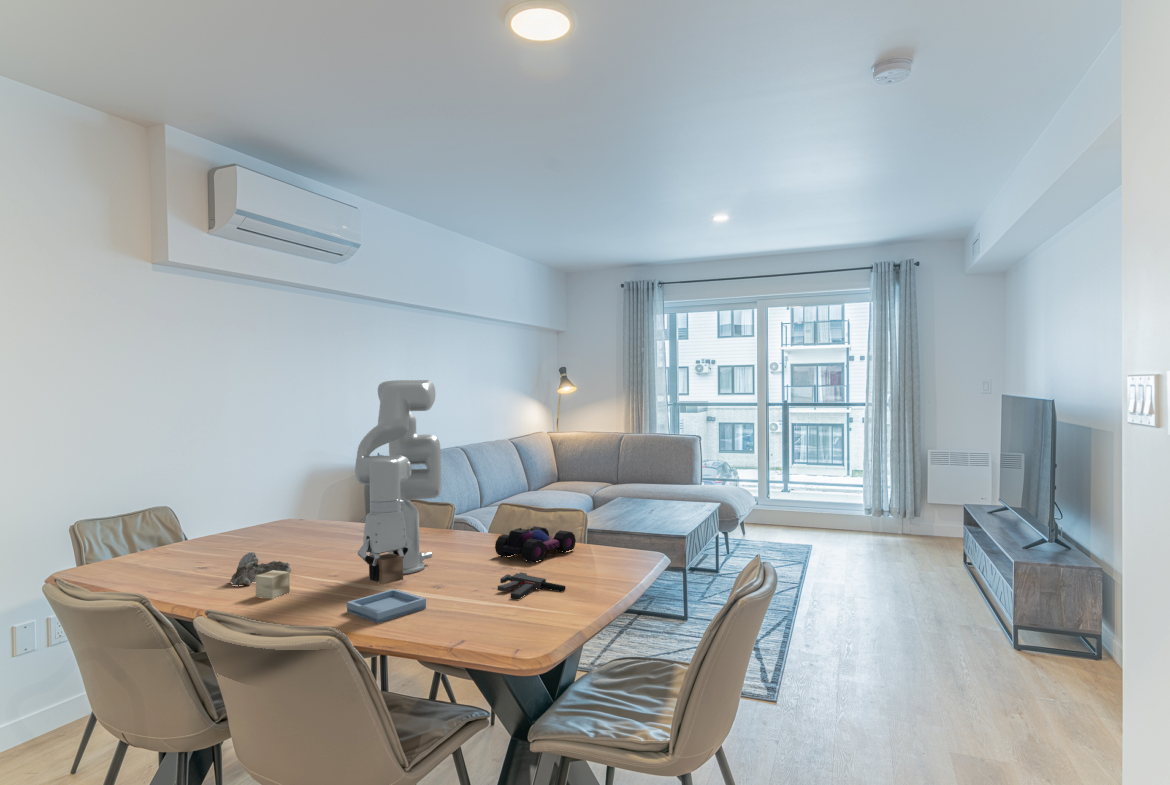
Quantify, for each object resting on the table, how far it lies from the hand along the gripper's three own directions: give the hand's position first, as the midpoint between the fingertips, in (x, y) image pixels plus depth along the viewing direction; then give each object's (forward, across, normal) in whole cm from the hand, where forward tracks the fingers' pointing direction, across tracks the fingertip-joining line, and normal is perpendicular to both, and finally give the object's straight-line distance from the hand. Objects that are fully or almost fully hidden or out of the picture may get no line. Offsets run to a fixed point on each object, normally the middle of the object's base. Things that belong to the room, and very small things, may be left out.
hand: (386, 576), depth 165 cm
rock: (+9, +6, -58) cm, 58 cm away
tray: (+9, 0, 0) cm, 9 cm away
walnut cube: (+1, 0, 0) cm, 1 cm away
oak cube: (+8, +12, -37) cm, 40 cm away
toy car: (+9, -66, -10) cm, 67 cm away
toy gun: (+9, -33, +18) cm, 39 cm away
